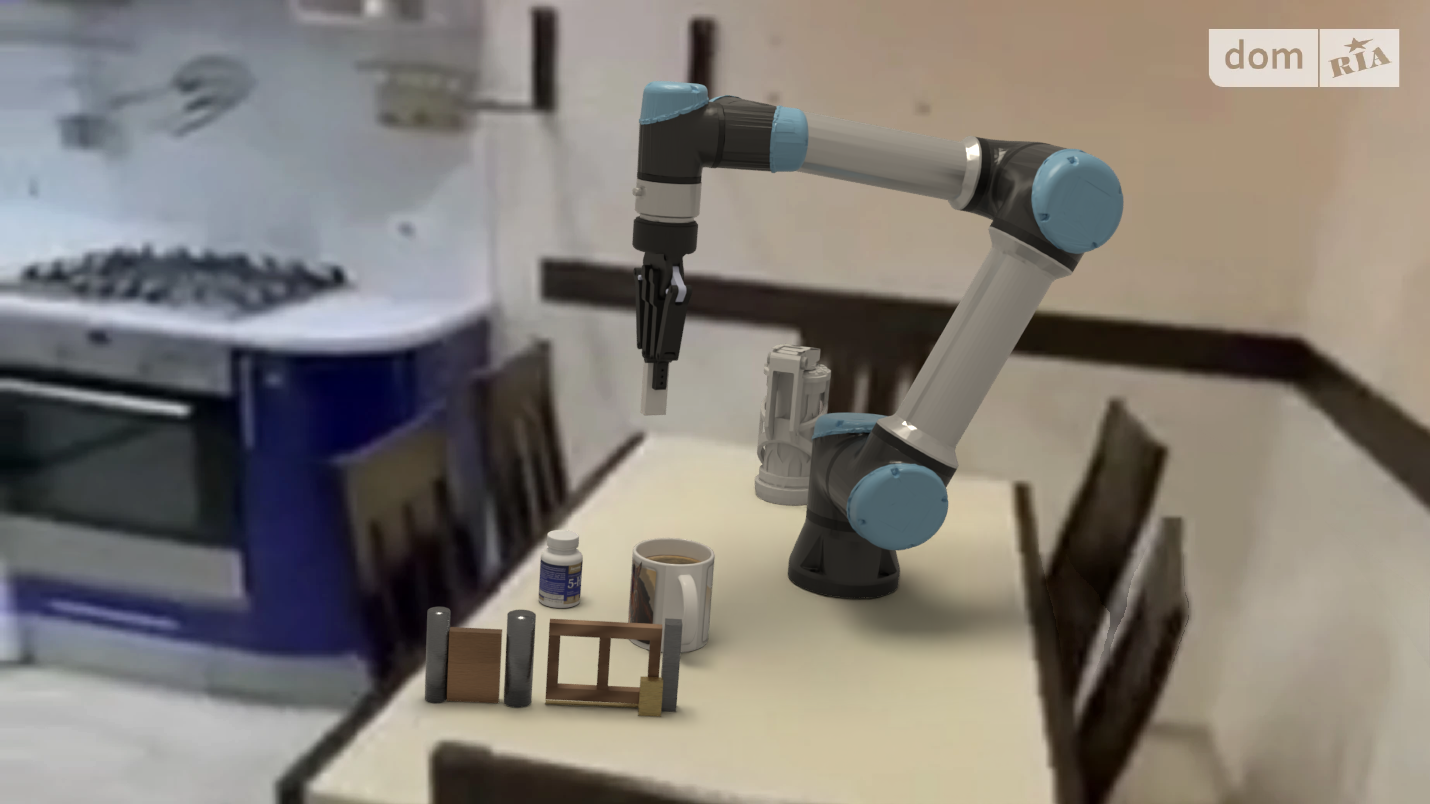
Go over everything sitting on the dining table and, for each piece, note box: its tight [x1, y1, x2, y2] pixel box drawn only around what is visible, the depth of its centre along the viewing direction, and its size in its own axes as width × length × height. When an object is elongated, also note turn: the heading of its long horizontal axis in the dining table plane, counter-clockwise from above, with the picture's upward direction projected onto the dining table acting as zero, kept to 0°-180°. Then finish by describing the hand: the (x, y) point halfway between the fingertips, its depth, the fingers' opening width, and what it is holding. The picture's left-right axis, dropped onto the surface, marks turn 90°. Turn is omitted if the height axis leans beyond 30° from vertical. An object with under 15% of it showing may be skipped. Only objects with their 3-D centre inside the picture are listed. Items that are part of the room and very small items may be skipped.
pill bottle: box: [538, 529, 584, 609], centre depth 199 cm, size 5×5×9 cm
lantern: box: [754, 343, 832, 506], centre depth 247 cm, size 13×10×25 cm
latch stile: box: [637, 618, 683, 718], centre depth 170 cm, size 4×3×10 cm
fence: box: [424, 606, 639, 709], centre depth 170 cm, size 25×3×10 cm, turn 94°
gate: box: [545, 618, 662, 704], centre depth 170 cm, size 12×1×9 cm, turn 93°
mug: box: [627, 537, 716, 653], centre depth 189 cm, size 10×12×11 cm
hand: (653, 413), depth 190 cm, fingers closed
